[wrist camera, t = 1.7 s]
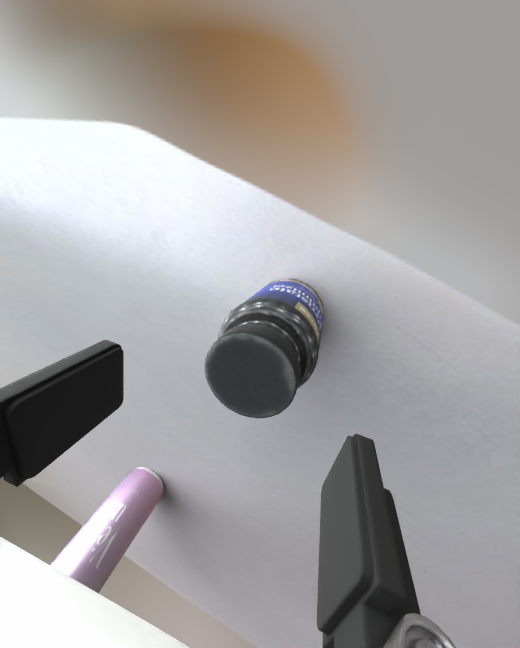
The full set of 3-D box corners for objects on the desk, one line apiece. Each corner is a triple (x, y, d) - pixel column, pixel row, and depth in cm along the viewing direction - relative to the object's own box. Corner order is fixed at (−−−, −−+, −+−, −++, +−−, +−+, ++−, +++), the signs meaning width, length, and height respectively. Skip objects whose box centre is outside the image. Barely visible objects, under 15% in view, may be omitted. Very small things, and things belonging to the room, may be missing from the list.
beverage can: (128, 478, 38) (14, 614, 24) (137, 458, 35) (15, 597, 22) (159, 500, 38) (61, 650, 24) (171, 481, 35) (68, 637, 21)
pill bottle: (338, 301, 20) (343, 368, 10) (300, 355, 23) (274, 451, 13) (274, 264, 20) (217, 292, 10) (244, 321, 23) (175, 388, 13)
